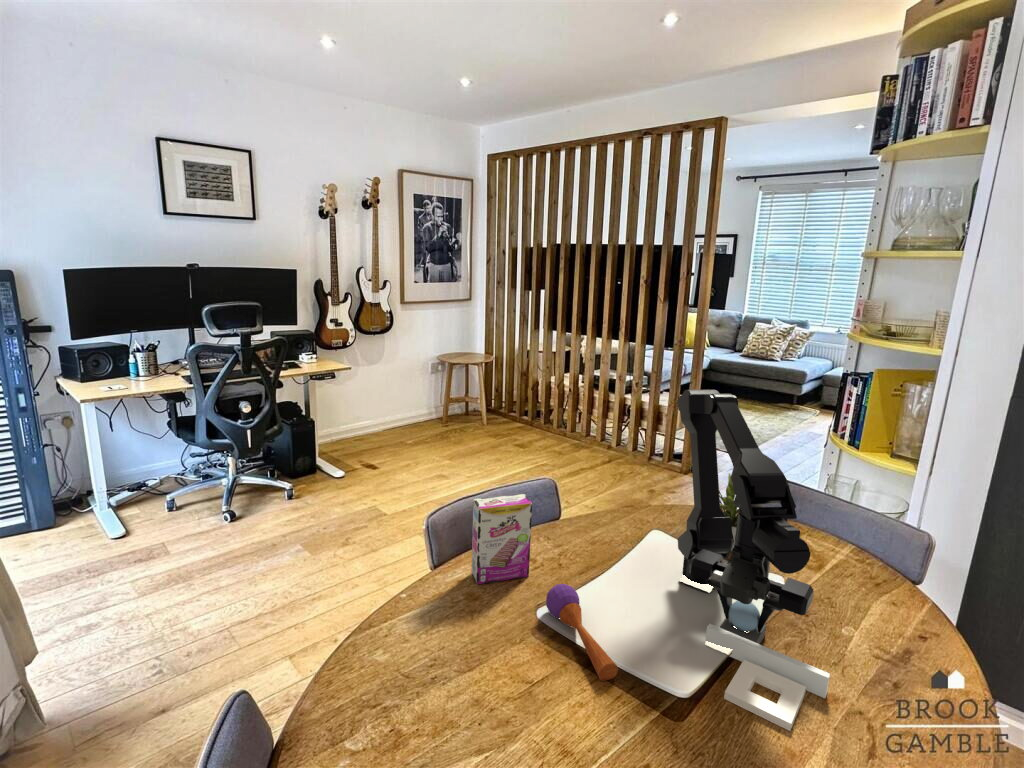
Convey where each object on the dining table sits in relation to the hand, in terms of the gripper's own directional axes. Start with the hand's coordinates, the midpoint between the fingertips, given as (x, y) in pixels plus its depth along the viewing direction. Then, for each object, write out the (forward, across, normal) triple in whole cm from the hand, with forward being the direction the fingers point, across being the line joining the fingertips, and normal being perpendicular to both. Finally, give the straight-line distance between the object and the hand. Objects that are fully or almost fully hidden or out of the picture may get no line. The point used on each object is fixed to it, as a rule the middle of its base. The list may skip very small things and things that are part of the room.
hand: (743, 624), depth 95 cm
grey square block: (+2, 0, 0) cm, 2 cm away
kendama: (+3, -21, -19) cm, 29 cm away
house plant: (+2, -14, +32) cm, 35 cm away
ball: (-2, 0, 0) cm, 2 cm away
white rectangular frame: (+2, +7, -12) cm, 14 cm away
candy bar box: (+3, -44, -13) cm, 46 cm away
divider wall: (+2, +5, -6) cm, 8 cm away
